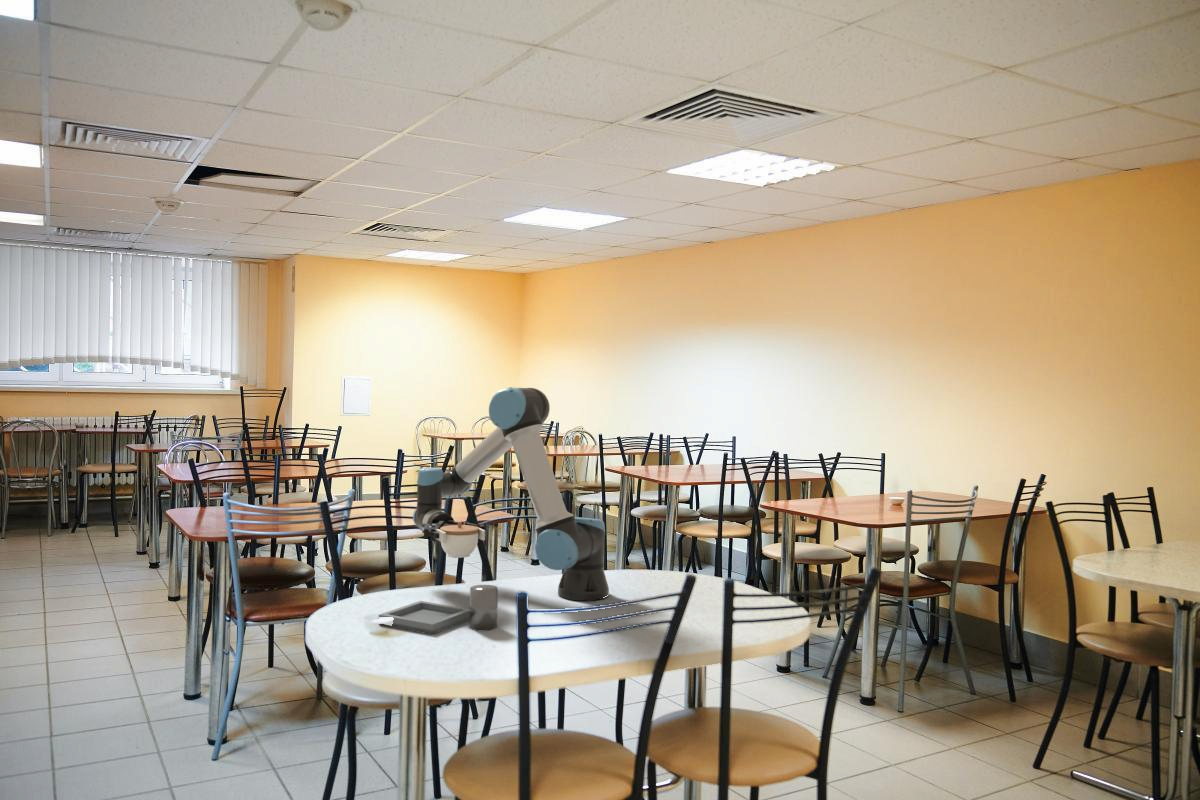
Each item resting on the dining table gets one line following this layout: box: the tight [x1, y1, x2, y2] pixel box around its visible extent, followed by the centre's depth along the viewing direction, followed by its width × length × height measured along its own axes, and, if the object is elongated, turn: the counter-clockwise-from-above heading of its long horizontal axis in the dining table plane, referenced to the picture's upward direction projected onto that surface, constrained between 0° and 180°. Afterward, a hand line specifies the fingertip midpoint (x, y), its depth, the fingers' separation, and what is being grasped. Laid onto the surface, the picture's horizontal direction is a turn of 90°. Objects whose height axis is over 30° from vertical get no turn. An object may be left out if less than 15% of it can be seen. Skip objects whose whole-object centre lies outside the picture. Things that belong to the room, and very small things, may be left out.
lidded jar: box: [440, 521, 479, 559], centre depth 245 cm, size 11×11×9 cm
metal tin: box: [468, 584, 499, 631], centre depth 225 cm, size 7×7×10 cm
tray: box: [378, 600, 470, 635], centre depth 228 cm, size 17×17×2 cm
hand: (464, 536), depth 241 cm, fingers closed on lidded jar, 11 cm apart
